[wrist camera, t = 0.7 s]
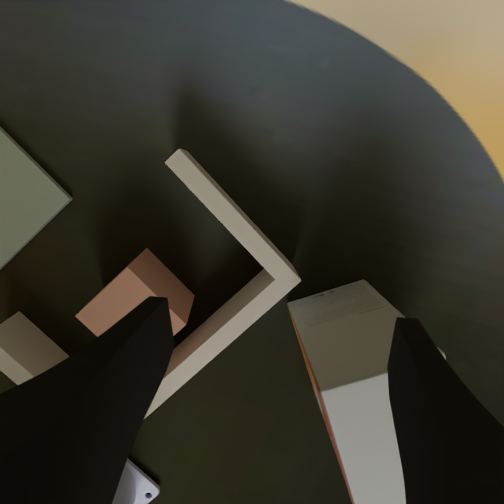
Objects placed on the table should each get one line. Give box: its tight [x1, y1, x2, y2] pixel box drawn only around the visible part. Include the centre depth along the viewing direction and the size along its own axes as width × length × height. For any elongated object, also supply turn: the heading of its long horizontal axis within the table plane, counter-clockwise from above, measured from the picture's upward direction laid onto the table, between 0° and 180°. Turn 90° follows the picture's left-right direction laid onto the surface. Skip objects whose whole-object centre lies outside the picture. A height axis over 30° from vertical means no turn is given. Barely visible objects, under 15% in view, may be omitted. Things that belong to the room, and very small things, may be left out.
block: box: [75, 248, 195, 337], centre depth 30 cm, size 4×5×6 cm
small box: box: [287, 279, 446, 504], centre depth 28 cm, size 8×6×13 cm
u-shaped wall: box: [0, 149, 301, 419], centre depth 30 cm, size 18×11×4 cm, turn 132°
